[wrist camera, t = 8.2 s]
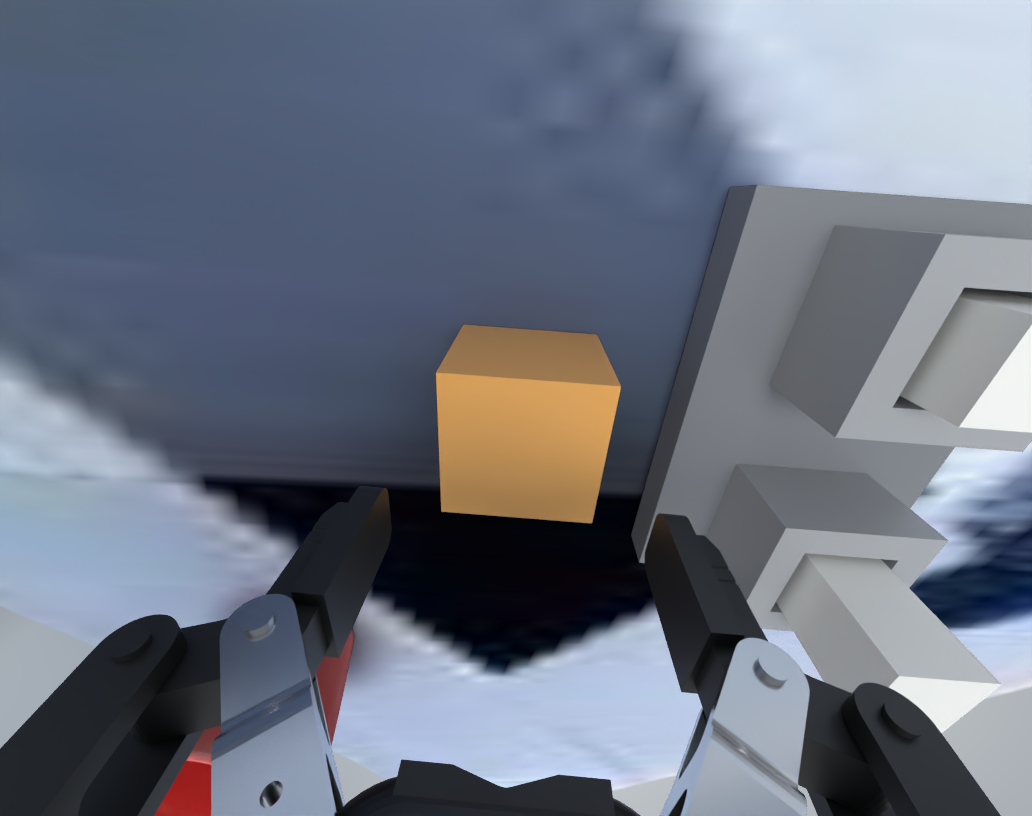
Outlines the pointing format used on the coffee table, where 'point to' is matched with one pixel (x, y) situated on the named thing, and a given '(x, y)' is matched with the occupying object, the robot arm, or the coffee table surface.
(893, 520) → the breaker panel
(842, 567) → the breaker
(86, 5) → the coffee table surface
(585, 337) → the orange wooden cube
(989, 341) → the block
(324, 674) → the flower pot
